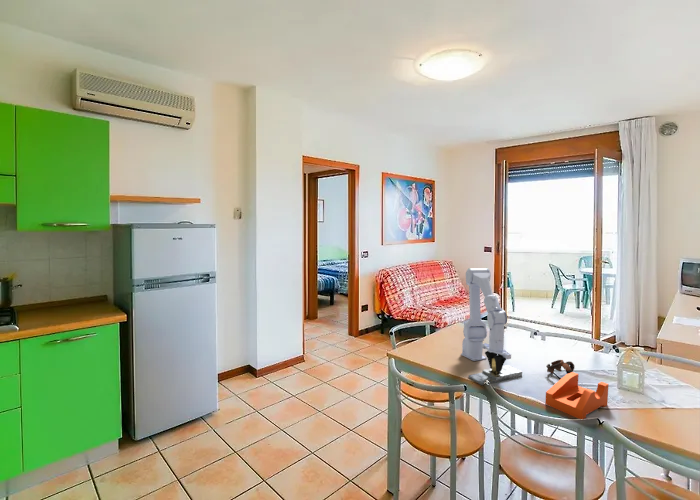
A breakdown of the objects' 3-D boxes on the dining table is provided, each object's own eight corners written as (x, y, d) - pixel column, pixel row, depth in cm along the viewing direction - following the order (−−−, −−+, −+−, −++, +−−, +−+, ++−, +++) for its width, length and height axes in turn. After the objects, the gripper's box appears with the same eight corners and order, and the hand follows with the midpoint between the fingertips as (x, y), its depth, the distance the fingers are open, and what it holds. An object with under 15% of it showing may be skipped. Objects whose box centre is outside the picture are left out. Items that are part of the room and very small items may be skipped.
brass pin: (489, 373, 161) (490, 357, 161) (495, 372, 162) (496, 356, 162) (494, 376, 159) (495, 360, 158) (500, 375, 160) (501, 359, 159)
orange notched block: (571, 392, 147) (572, 371, 146) (607, 406, 136) (608, 384, 136) (545, 405, 137) (546, 383, 137) (581, 421, 127) (583, 397, 126)
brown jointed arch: (566, 385, 153) (555, 366, 155) (549, 386, 162) (539, 368, 164) (585, 373, 158) (574, 354, 160) (567, 374, 166) (557, 356, 168)
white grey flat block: (481, 385, 153) (481, 380, 153) (468, 377, 160) (468, 373, 160) (522, 376, 161) (522, 371, 161) (507, 369, 169) (507, 364, 168)
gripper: (477, 335, 164) (476, 365, 165) (502, 345, 151) (501, 378, 152) (489, 332, 167) (488, 362, 168) (515, 343, 154) (514, 375, 155)
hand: (495, 369), depth 160 cm, fingers closed on brass pin, 3 cm apart
